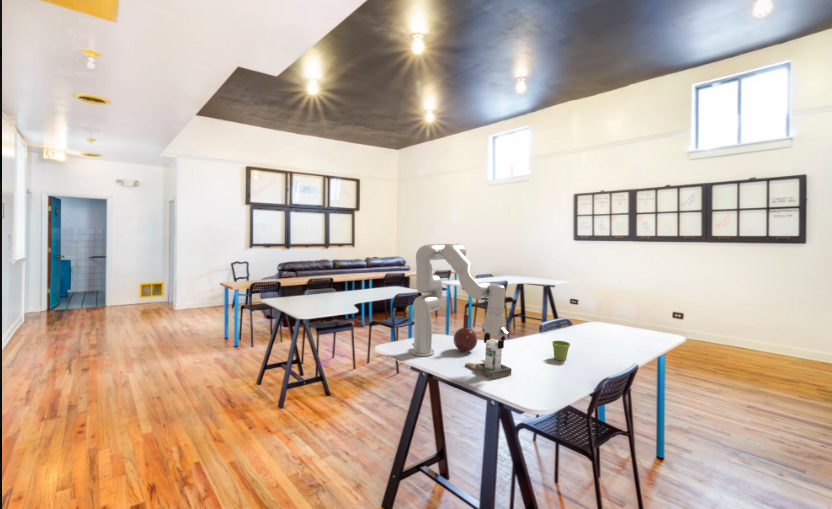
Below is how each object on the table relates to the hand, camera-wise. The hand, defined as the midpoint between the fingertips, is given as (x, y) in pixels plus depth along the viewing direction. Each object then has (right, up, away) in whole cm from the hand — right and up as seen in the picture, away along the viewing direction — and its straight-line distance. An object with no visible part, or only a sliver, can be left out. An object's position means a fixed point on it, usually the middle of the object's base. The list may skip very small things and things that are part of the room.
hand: (493, 345), depth 203 cm
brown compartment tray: (-2, -13, +4) cm, 14 cm away
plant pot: (+40, -13, +25) cm, 49 cm away
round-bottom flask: (-10, -11, +34) cm, 37 cm away
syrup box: (0, -12, +1) cm, 13 cm away
